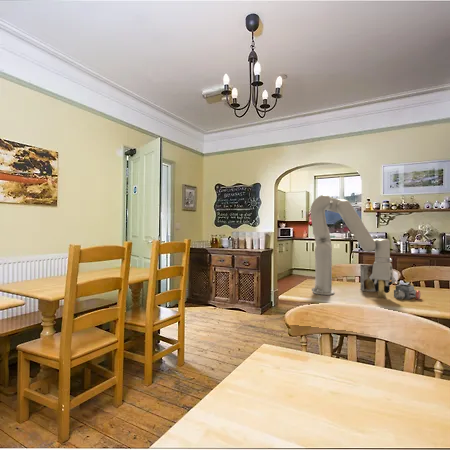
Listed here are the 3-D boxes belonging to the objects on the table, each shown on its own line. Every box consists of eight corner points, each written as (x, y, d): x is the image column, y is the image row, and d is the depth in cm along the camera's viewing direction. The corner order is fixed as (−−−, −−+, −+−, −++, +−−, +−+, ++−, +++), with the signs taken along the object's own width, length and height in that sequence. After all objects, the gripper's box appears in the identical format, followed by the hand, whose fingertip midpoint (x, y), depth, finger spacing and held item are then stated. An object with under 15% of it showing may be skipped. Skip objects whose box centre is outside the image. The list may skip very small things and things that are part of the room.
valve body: (413, 302, 166) (413, 289, 166) (391, 298, 174) (391, 286, 174) (423, 297, 176) (423, 285, 176) (402, 294, 184) (402, 282, 184)
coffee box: (374, 289, 196) (374, 264, 196) (378, 291, 189) (378, 265, 189) (360, 289, 197) (360, 264, 197) (363, 291, 190) (363, 265, 190)
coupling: (384, 298, 173) (384, 281, 172) (377, 297, 176) (377, 279, 176) (387, 297, 175) (387, 280, 175) (380, 296, 178) (380, 279, 178)
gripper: (400, 261, 171) (400, 293, 171) (370, 258, 184) (370, 288, 184) (395, 262, 166) (395, 295, 166) (364, 259, 179) (364, 290, 180)
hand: (382, 291), depth 175 cm, fingers open, 4 cm apart
